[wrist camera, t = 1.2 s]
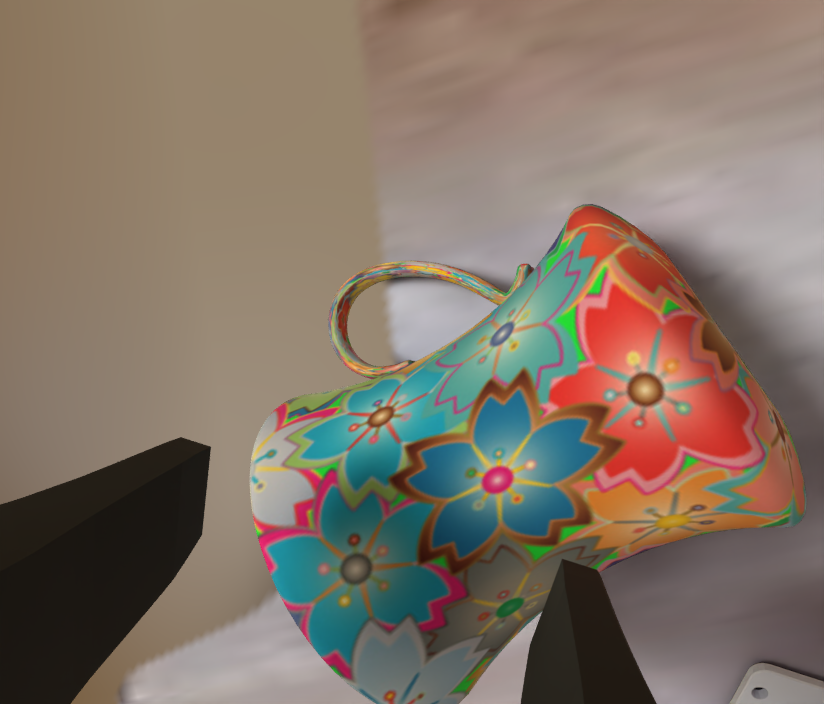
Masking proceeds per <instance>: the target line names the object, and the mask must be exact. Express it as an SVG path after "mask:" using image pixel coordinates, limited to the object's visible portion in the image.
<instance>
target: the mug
mask: <svg viewBox="0 0 824 704" xmlns="http://www.w3.org/2000/svg"><path fill="white" fill-rule="evenodd" d="M410 276H413V277H430V278H436V279H441V280H445V281H449V282H452V283H455V284H458V285H460V286H463V287H465V288H467V289H469V290H471V291H473V292H475V293H477V294H479V295H481V296H482V297H484V298H486V299H488V300H490V301H491V302H493V303H495V304H497V305H499V306H498V307H497V308H496V309H495V310H494V311H493V312H491V313H490V314H489V315H488V316H487V317H485V318H484V319H483V320H482V321H480V322H479V323H478V324H477V325H475V326H474V327H473V328H471V329H470V330H468V331H467V332H466V333H464V334H463V335H461V336H460V337H458V338H457V339H455V340H454V341H452V342H450V343H449V344H447V345H445V346H444V347H442V348H440V349H439V350H437V351H435V352H433V353H431V354H430V355H428V356H426V357H424V358H422V359H420V360H418V361H416V362H415V361H411V360H408V361H404V362H402V363H399V364H396V365H391V366H384V367H377V366H372V365H370V364H368V363H366V362H364V361H363V360H362V359H360V358H359V357H358V356H357V354H356V353H355V352H354V350H353V349H352V347H351V344H350V342H349V338H348V333H347V321H348V315H349V311H350V308H351V306H352V304H353V302H354V301H355V299H356V298H357V297H358V295H359V294H360V293H361V292H363V291H364V290H365V289H367V288H368V287H370V286H372V285H374V284H376V283H378V282H381V281H384V280H388V279H392V278H399V277H410ZM329 335H330V339H331V343H332V346H333V348H334V350H335V352H336V354H337V356H338V357H339V358H340V360H341V361H342V362H343V363H344V364H345V365H346V366H347V367H348V368H349V369H351V370H352V371H354V372H355V373H357V374H359V375H361V376H364V377H367V378H370V379H372V380H369V381H366V382H363V383H360V384H356V385H353V386H349V387H345V388H340V389H336V390H331V391H326V392H321V393H315V394H308V395H302V396H299V397H296V398H293V399H290V400H288V401H286V402H285V403H283V404H282V405H280V406H279V407H278V408H277V409H275V410H274V411H273V412H272V413H271V414H270V416H269V417H268V418H267V419H266V421H265V423H264V425H263V426H262V428H261V429H260V432H259V434H258V436H257V439H256V441H255V445H254V449H253V453H252V459H251V465H250V467H251V468H250V495H251V496H250V497H251V505H252V512H253V518H254V522H255V527H256V532H257V536H258V539H259V543H260V546H261V550H262V552H263V556H264V558H265V561H266V564H267V567H268V570H269V572H270V574H271V576H272V579H273V581H274V583H275V586H276V588H277V590H278V592H279V594H280V596H281V598H282V600H283V602H284V604H285V606H286V607H287V609H288V611H289V612H290V614H291V616H292V617H293V619H294V621H295V622H296V624H297V626H298V627H299V628H300V630H301V631H302V633H303V634H304V636H305V637H306V639H307V640H308V641H309V643H310V644H311V645H312V646H313V648H314V649H315V650H316V651H317V653H318V654H319V655H320V656H321V658H322V659H323V660H324V661H325V662H326V663H327V664H328V665H329V666H330V667H331V668H332V669H333V670H334V672H336V673H337V674H338V675H339V676H340V677H341V678H342V679H343V680H344V681H345V682H346V683H347V684H349V685H350V686H351V687H353V688H354V689H355V690H356V691H358V692H359V693H360V694H362V695H363V696H365V697H366V698H368V699H370V700H371V701H373V702H374V703H376V704H459V703H460V702H461V701H462V700H463V699H464V698H465V697H466V696H467V695H468V694H469V692H470V691H471V689H472V688H473V687H474V685H475V684H476V682H477V681H478V680H479V678H480V677H481V675H482V674H483V673H484V672H485V670H486V669H487V668H488V666H489V665H490V664H491V663H492V661H493V660H494V659H495V658H496V657H497V655H498V654H499V653H500V652H501V651H502V650H503V649H504V647H505V646H506V645H507V644H508V643H509V642H510V641H511V640H512V639H513V638H514V637H515V636H516V635H517V634H518V633H519V632H520V631H521V630H522V629H523V628H524V627H525V626H526V625H527V624H528V623H529V622H530V621H532V620H533V619H534V618H535V617H536V616H537V615H538V614H540V613H541V612H542V611H543V609H544V606H545V603H546V601H547V598H548V595H549V593H550V590H551V587H552V585H553V582H554V579H555V576H556V574H557V571H558V568H559V566H560V563H561V560H562V559H565V560H568V561H571V562H574V563H577V564H581V565H584V566H587V567H590V568H593V569H596V570H598V572H601V571H603V570H605V569H606V568H608V567H610V566H612V565H614V564H616V563H618V562H620V561H623V560H625V559H627V558H629V557H632V556H634V555H637V554H639V553H642V552H644V551H647V550H649V549H652V548H655V547H658V546H661V545H664V544H667V543H670V542H674V541H677V540H681V539H685V538H688V537H693V536H697V535H702V534H707V533H712V532H719V531H725V530H733V529H743V528H761V527H777V528H787V527H792V526H795V525H796V524H798V523H799V522H800V521H801V520H802V518H803V516H804V514H805V512H806V505H807V498H806V491H805V484H804V478H803V474H802V470H801V466H800V462H799V458H798V455H797V452H796V449H795V446H794V443H793V440H792V438H791V435H790V433H789V431H788V429H787V427H786V425H785V423H784V421H783V419H782V417H781V416H780V414H779V413H778V411H777V410H776V408H775V407H774V405H773V404H772V402H771V401H770V399H769V398H768V397H767V395H766V394H765V392H764V391H763V389H762V388H761V386H760V385H759V384H758V382H757V381H756V379H755V378H754V376H753V375H752V374H751V372H750V371H749V369H748V368H747V366H746V365H745V364H744V362H743V361H742V359H741V358H740V357H739V355H738V354H737V352H736V351H735V349H734V348H733V347H732V345H731V344H730V342H729V341H728V340H727V338H726V337H725V335H724V334H723V333H722V331H721V330H720V328H719V327H718V325H717V324H716V323H715V321H714V320H713V318H712V317H711V316H710V314H709V313H708V311H707V310H706V309H705V307H704V306H703V304H702V303H701V302H700V300H699V299H698V297H697V296H696V295H695V293H694V292H693V291H692V289H691V288H690V286H689V285H688V284H687V282H686V281H685V279H684V278H683V277H682V275H681V274H680V273H679V271H678V270H677V268H676V267H675V266H674V264H673V263H672V262H671V260H670V259H669V258H668V256H667V255H666V254H665V253H664V251H663V250H662V249H661V248H660V247H659V246H658V245H657V244H656V243H655V242H654V241H653V240H652V239H650V238H649V237H648V236H647V235H645V234H644V233H643V232H642V231H640V230H639V229H638V228H636V227H635V226H634V225H632V224H631V223H629V222H627V221H626V220H624V219H623V218H621V217H620V216H618V215H616V214H614V213H612V212H610V211H609V210H607V209H605V208H603V207H600V206H597V205H593V204H588V205H581V206H579V207H576V208H575V209H574V210H573V211H572V213H571V214H570V216H569V217H568V219H567V221H566V223H565V225H564V227H563V229H562V231H561V232H560V234H559V236H558V237H557V239H556V241H555V242H554V243H553V245H552V246H551V248H550V249H549V251H548V252H547V254H546V255H545V256H544V258H543V259H542V260H541V262H540V263H539V264H538V265H537V267H536V268H535V269H534V268H533V267H531V266H530V265H529V264H521V265H520V266H519V267H518V269H517V273H516V277H515V280H514V283H513V285H512V286H511V288H510V290H509V291H508V292H507V293H505V292H503V291H501V290H500V289H498V288H497V287H495V286H493V285H492V284H490V283H488V282H486V281H484V280H483V279H481V278H479V277H477V276H475V275H472V274H470V273H468V272H465V271H463V270H460V269H457V268H454V267H451V266H447V265H443V264H438V263H432V262H423V261H398V262H390V263H384V264H380V265H376V266H373V267H370V268H368V269H365V270H363V271H361V272H359V273H357V274H356V275H354V276H353V277H351V278H350V279H349V280H348V281H346V282H345V283H344V284H343V285H342V287H341V288H340V289H339V290H338V292H337V294H336V295H335V297H334V300H333V302H332V305H331V308H330V313H329Z"/></svg>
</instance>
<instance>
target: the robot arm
mask: <svg viewBox="0 0 824 704" xmlns="http://www.w3.org/2000/svg"><path fill="white" fill-rule="evenodd" d="M210 450H211V447H210V446H206V445H203V444H200V443H197V442H194V441H191V440H187V439H184V438H181V437H180V438H178V439H175V440H172V441H169V442H166V443H164V444H161V445H159V446H156V447H154V448H152V449H149V450H146V451H144V452H142V453H139V454H137V455H134V456H132V457H130V458H127V459H125V460H122V461H120V462H117V463H115V464H112V465H110V466H107V467H105V468H102V469H100V470H97V471H95V472H92V473H90V474H87V475H85V476H82V477H80V478H77V479H74V480H72V481H69V482H66V483H63V484H60V485H57V486H54V487H52V488H49V489H46V490H43V491H40V492H37V493H35V494H32V495H29V496H26V497H23V498H20V499H17V500H14V501H11V502H8V503H4V504H1V505H0V704H71V702H72V701H73V700H74V698H75V697H76V696H77V694H78V693H79V692H80V691H81V689H82V688H83V687H84V685H85V684H86V683H87V682H88V680H89V679H90V678H91V677H92V675H93V674H94V673H95V672H96V671H97V670H98V668H99V667H100V666H101V665H102V664H103V662H104V661H105V660H106V659H107V658H108V657H109V655H110V654H111V653H112V652H113V650H114V649H115V648H116V647H117V646H118V645H119V644H120V642H121V641H122V640H123V639H124V638H125V637H126V635H127V634H128V633H129V632H130V631H131V630H132V628H133V627H134V626H135V625H136V623H137V622H138V621H139V620H140V619H141V617H142V616H143V615H144V614H145V613H146V612H147V611H148V609H149V608H150V607H151V606H152V605H153V603H154V602H155V601H156V600H157V599H158V597H159V596H160V595H161V594H162V593H163V591H164V590H165V589H166V588H167V587H168V585H169V584H170V583H171V582H172V580H173V579H174V577H175V576H176V575H177V573H178V572H179V570H180V569H181V567H182V566H183V564H184V563H185V561H186V559H187V558H188V556H189V555H190V553H191V551H192V550H193V548H194V547H195V545H196V543H197V542H198V540H199V539H200V537H201V535H202V529H203V519H204V509H205V499H206V489H207V480H208V470H209V460H210ZM757 687H762V688H763V689H761V690H754V688H757ZM521 704H657V703H656V701H655V700H654V698H653V696H652V694H651V692H650V690H649V688H648V686H647V684H646V682H645V680H644V678H643V675H642V673H641V671H640V669H639V667H638V665H637V662H636V660H635V658H634V656H633V654H632V652H631V650H630V647H629V645H628V643H627V641H626V638H625V636H624V634H623V631H622V629H621V627H620V624H619V622H618V619H617V617H616V614H615V612H614V609H613V607H612V604H611V602H610V599H609V597H608V594H607V591H606V589H605V586H604V583H603V581H602V578H601V576H600V574H599V572H598V570H596V569H593V568H590V567H587V566H584V565H581V564H577V563H574V562H571V561H568V560H565V559H562V560H561V563H560V566H559V568H558V571H557V574H556V576H555V579H554V582H553V585H552V587H551V590H550V593H549V595H548V598H547V601H546V603H545V606H544V609H543V611H542V614H541V617H540V620H539V622H538V625H537V628H536V630H535V633H534V636H533V638H532V641H531V644H530V648H529V654H528V660H527V666H526V672H525V678H524V685H523V692H522V698H521ZM730 704H824V682H823V681H820V680H817V679H814V678H811V677H808V676H805V675H802V674H799V673H796V672H793V671H790V670H786V669H783V668H780V667H777V666H774V665H771V664H767V663H758V664H755V665H753V666H751V667H750V668H749V669H748V671H747V673H746V675H745V677H744V678H743V680H742V682H741V684H740V686H739V687H738V689H737V691H736V693H735V695H734V696H733V698H732V700H731V702H730Z"/></svg>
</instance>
